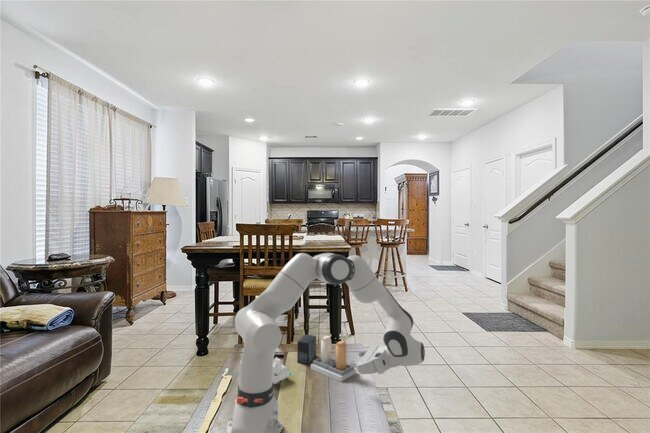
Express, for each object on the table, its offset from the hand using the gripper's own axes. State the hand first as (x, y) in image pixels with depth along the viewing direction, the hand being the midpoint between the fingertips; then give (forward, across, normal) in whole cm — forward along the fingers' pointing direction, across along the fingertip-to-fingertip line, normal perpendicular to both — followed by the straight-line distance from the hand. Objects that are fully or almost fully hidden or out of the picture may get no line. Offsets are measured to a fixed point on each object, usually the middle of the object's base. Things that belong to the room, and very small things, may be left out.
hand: (355, 359), depth 150 cm
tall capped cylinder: (+11, -4, +6) cm, 13 cm away
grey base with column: (+16, -5, +6) cm, 18 cm away
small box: (+32, -11, +2) cm, 34 cm away
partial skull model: (+33, +14, 0) cm, 36 cm away
